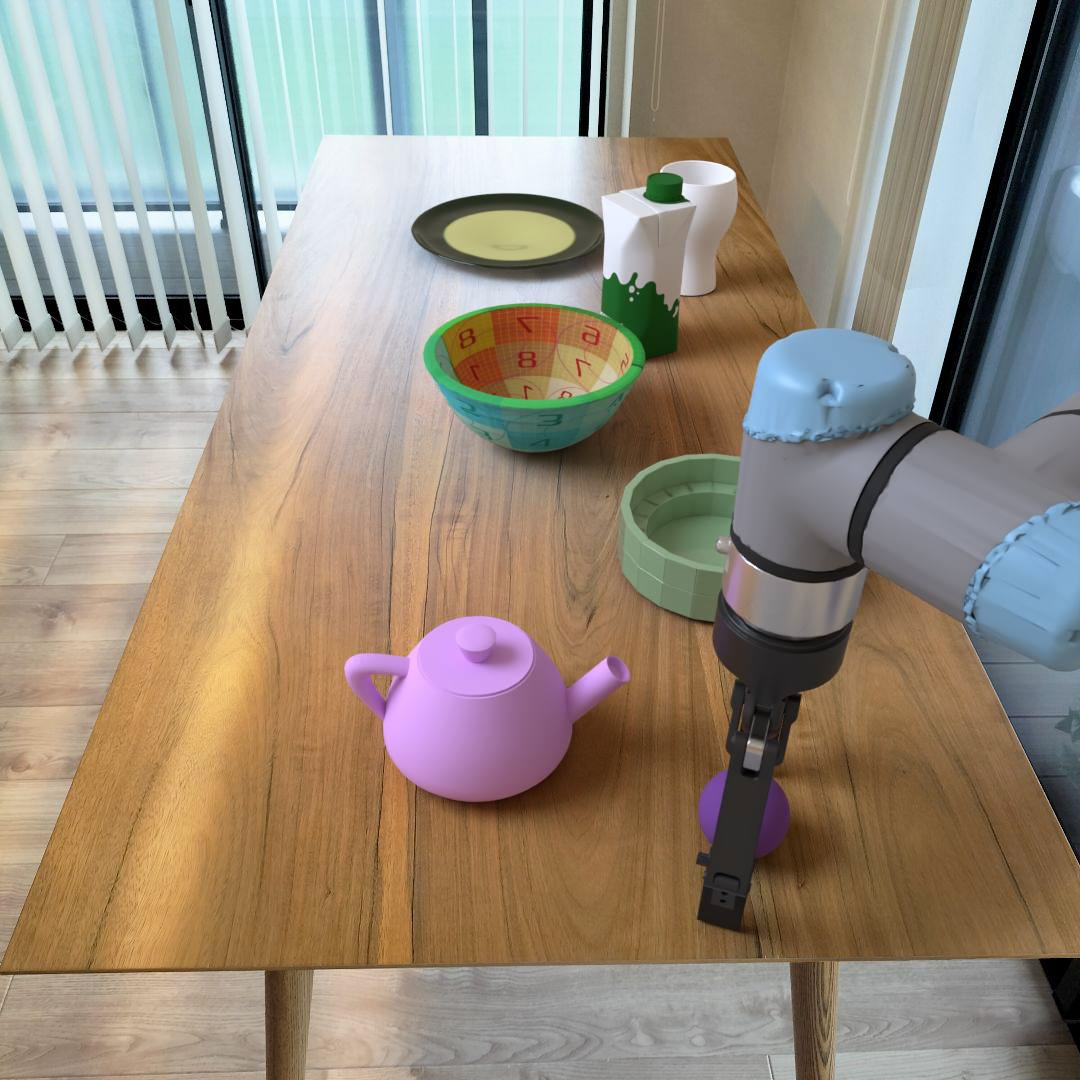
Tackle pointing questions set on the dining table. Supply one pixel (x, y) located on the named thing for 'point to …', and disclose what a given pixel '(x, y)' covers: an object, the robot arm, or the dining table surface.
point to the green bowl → (678, 531)
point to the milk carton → (646, 259)
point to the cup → (705, 219)
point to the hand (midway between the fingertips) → (736, 838)
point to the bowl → (534, 372)
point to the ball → (773, 817)
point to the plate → (509, 231)
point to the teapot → (478, 708)
